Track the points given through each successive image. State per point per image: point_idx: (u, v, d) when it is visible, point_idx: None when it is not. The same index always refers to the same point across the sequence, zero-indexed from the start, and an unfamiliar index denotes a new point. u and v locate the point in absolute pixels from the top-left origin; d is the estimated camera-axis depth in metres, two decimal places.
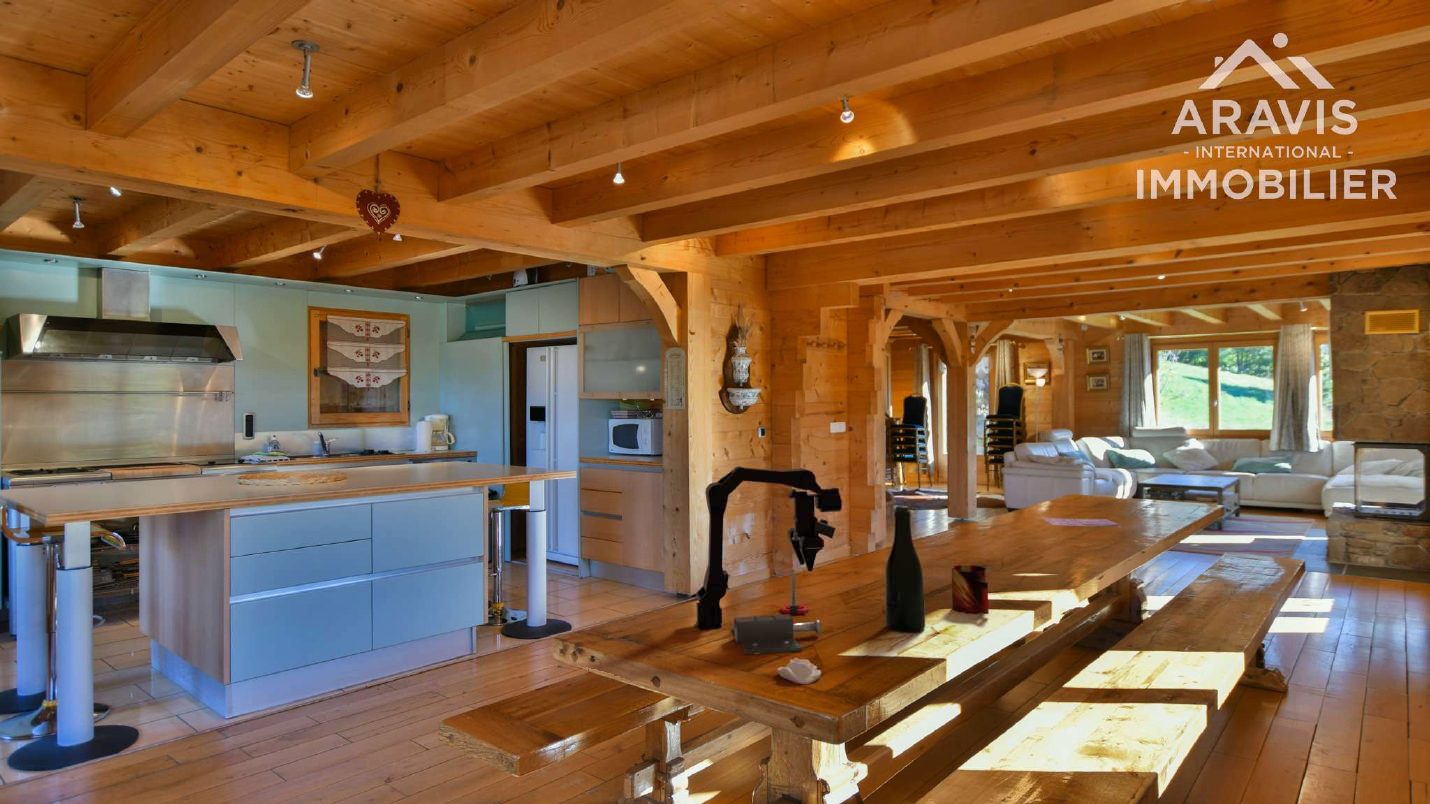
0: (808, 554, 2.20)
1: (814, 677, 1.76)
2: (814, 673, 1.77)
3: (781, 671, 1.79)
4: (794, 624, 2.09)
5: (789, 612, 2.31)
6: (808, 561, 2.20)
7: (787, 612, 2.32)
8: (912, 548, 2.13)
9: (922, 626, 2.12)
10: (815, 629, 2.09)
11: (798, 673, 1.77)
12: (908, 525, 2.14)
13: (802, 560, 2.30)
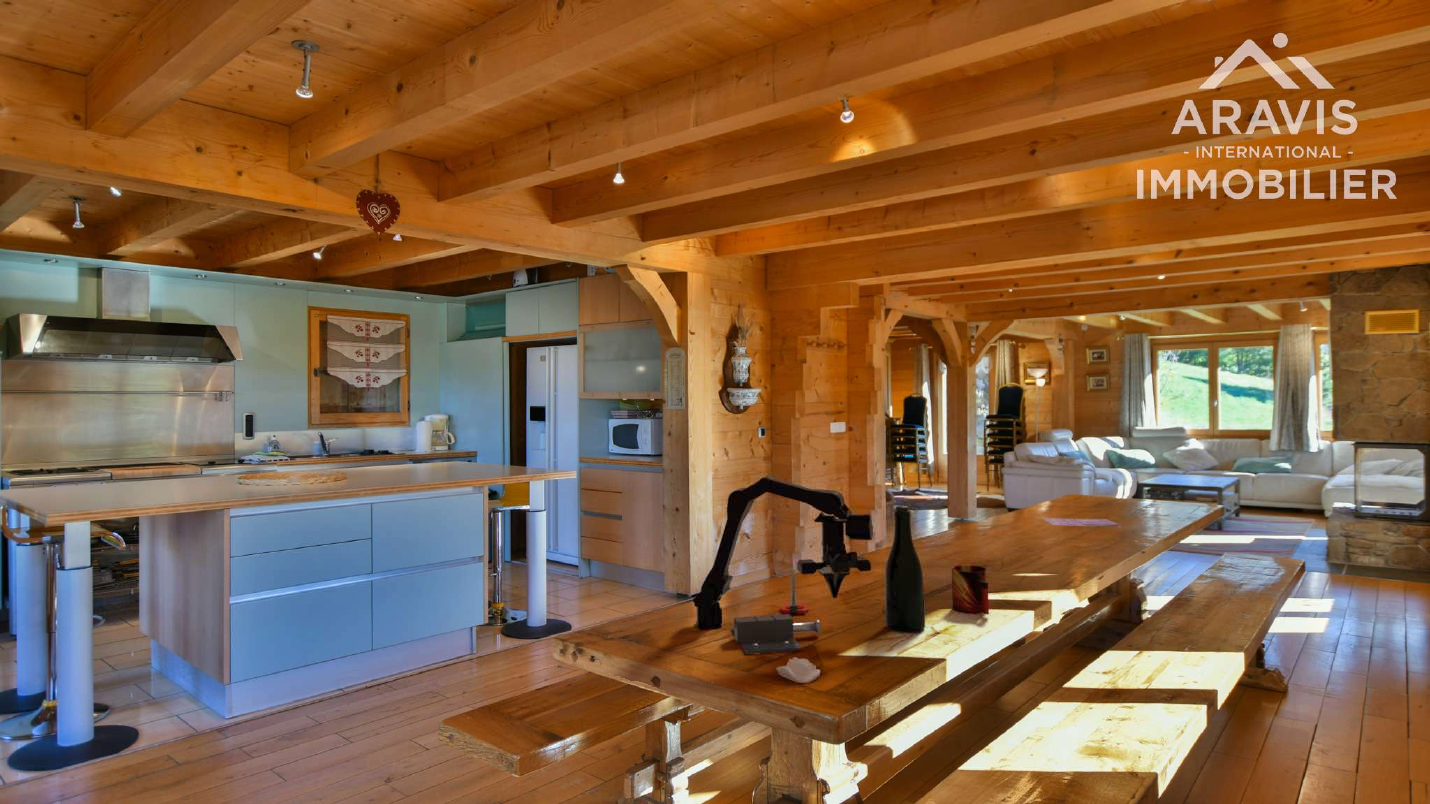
0: (828, 578, 2.11)
1: (813, 676, 1.77)
2: (813, 672, 1.78)
3: (780, 670, 1.79)
4: (794, 624, 2.09)
5: (789, 612, 2.31)
6: (828, 586, 2.11)
7: (787, 612, 2.32)
8: (912, 548, 2.13)
9: (922, 626, 2.12)
10: (815, 629, 2.09)
11: (798, 672, 1.77)
12: (908, 525, 2.13)
13: None
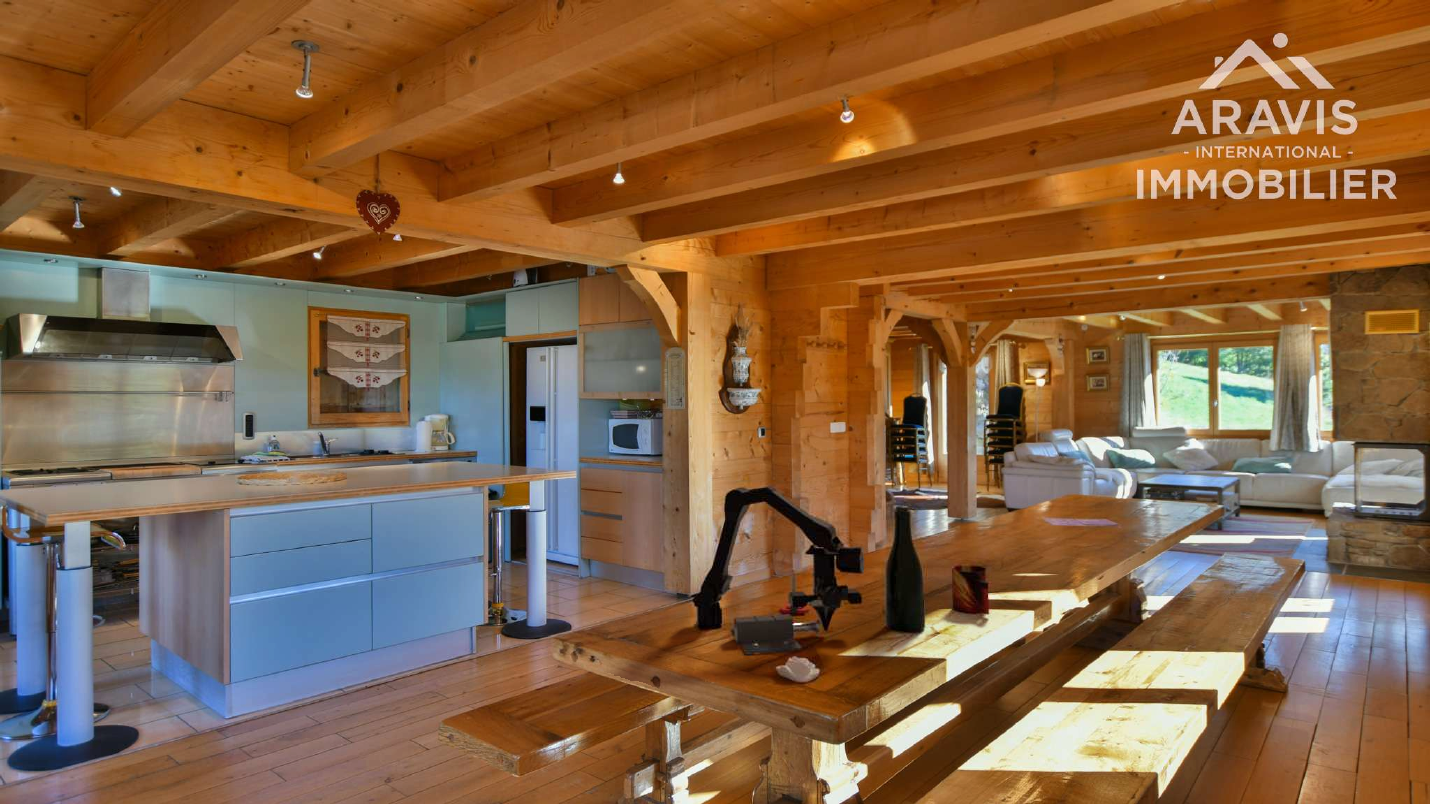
0: None
1: (812, 675, 1.77)
2: (812, 672, 1.78)
3: (780, 669, 1.80)
4: (794, 624, 2.09)
5: (789, 612, 2.31)
6: (819, 618, 2.11)
7: (787, 612, 2.32)
8: (912, 548, 2.13)
9: (922, 626, 2.12)
10: (815, 629, 2.09)
11: (797, 671, 1.78)
12: (908, 525, 2.13)
13: None
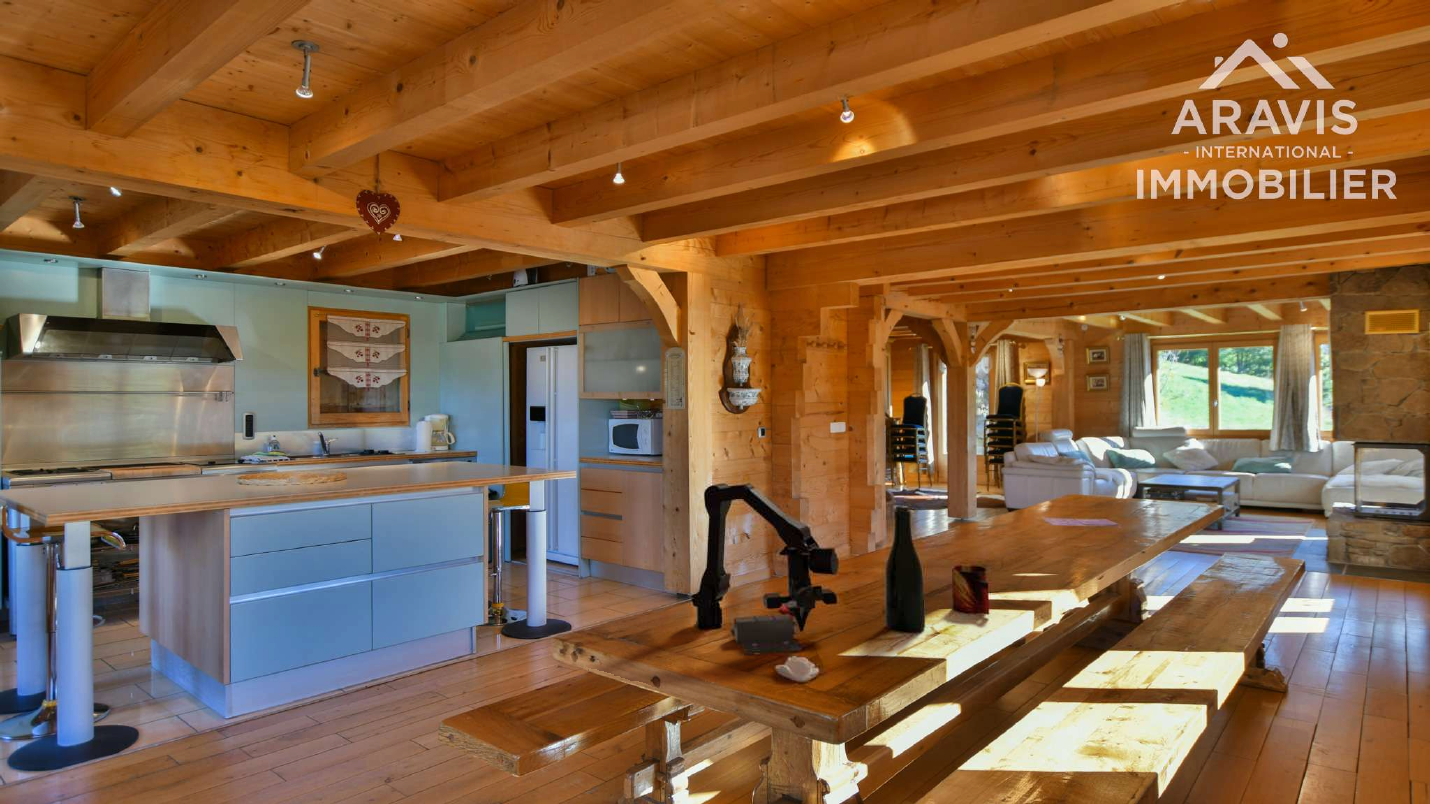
0: None
1: (812, 675, 1.78)
2: (812, 671, 1.79)
3: (779, 669, 1.80)
4: None
5: (789, 612, 2.31)
6: (795, 619, 2.10)
7: (787, 612, 2.32)
8: (912, 548, 2.13)
9: (922, 626, 2.12)
10: None
11: (796, 671, 1.78)
12: (908, 525, 2.13)
13: None
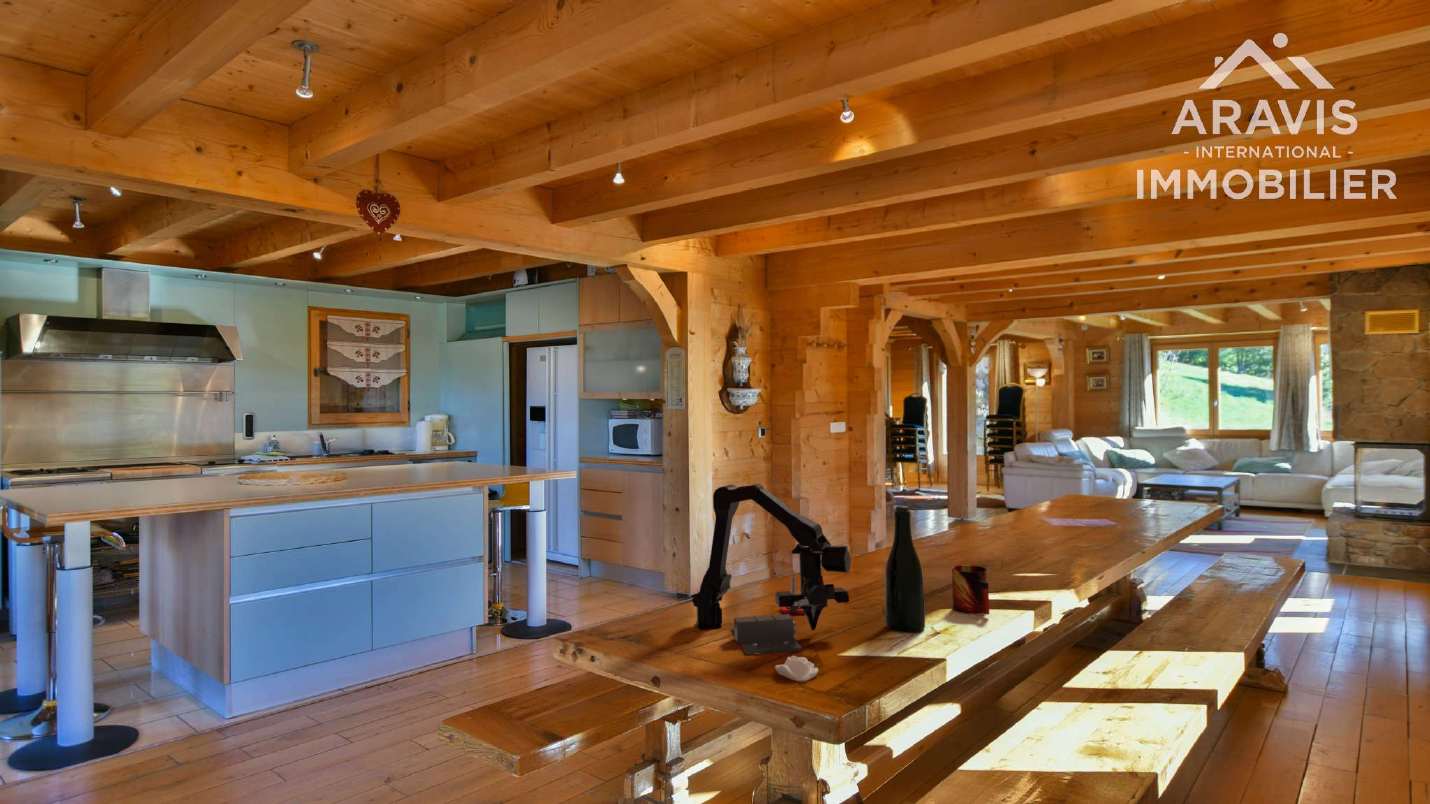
0: (806, 610, 2.10)
1: (811, 675, 1.78)
2: (811, 671, 1.79)
3: (779, 668, 1.80)
4: None
5: (789, 612, 2.31)
6: (807, 618, 2.10)
7: (787, 612, 2.32)
8: (912, 548, 2.13)
9: (922, 626, 2.12)
10: None
11: (796, 670, 1.79)
12: (908, 525, 2.14)
13: None
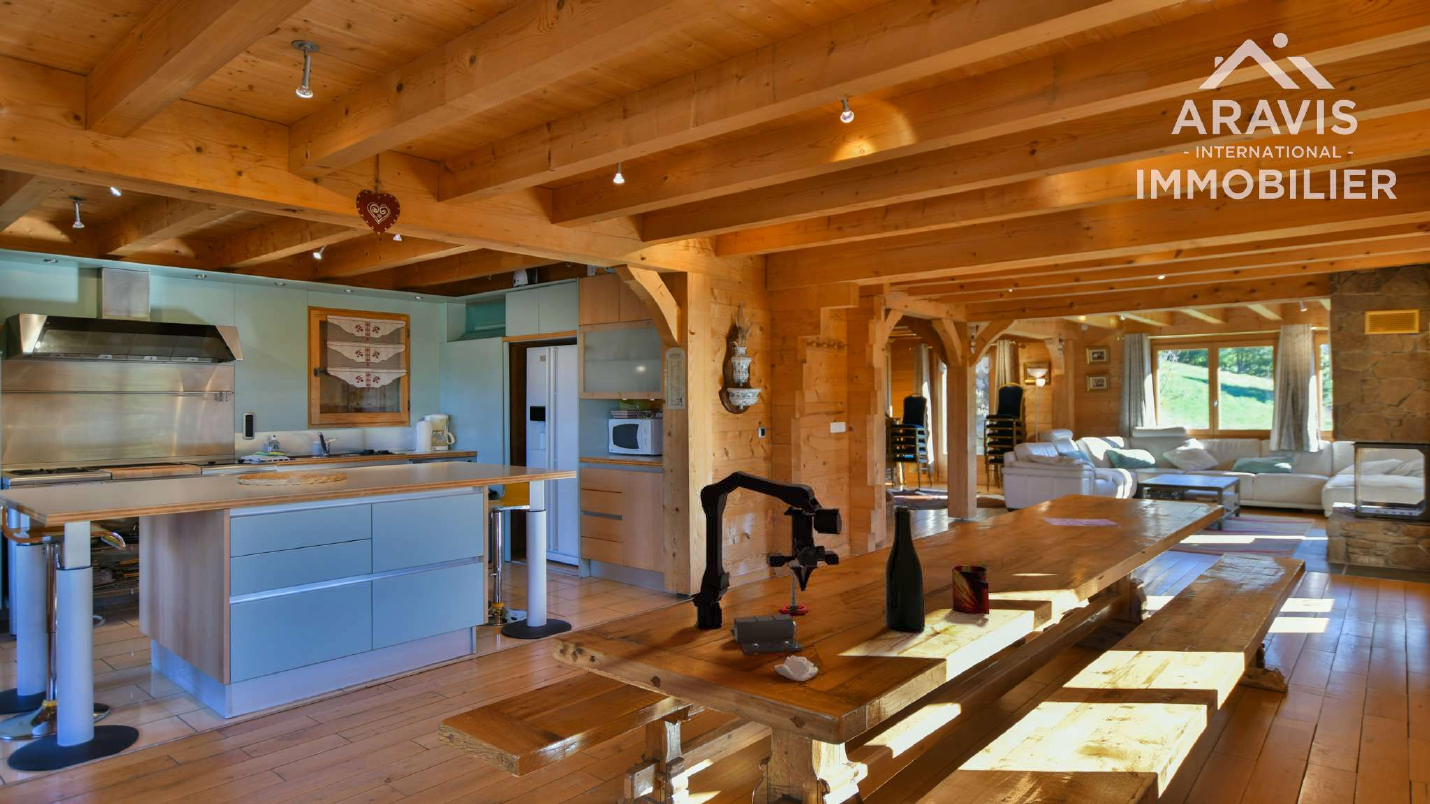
0: None
1: (811, 674, 1.78)
2: (811, 670, 1.79)
3: (778, 668, 1.81)
4: None
5: (789, 612, 2.31)
6: (797, 579, 2.12)
7: (787, 612, 2.32)
8: (912, 548, 2.13)
9: (922, 626, 2.12)
10: None
11: (795, 670, 1.79)
12: (908, 525, 2.14)
13: None
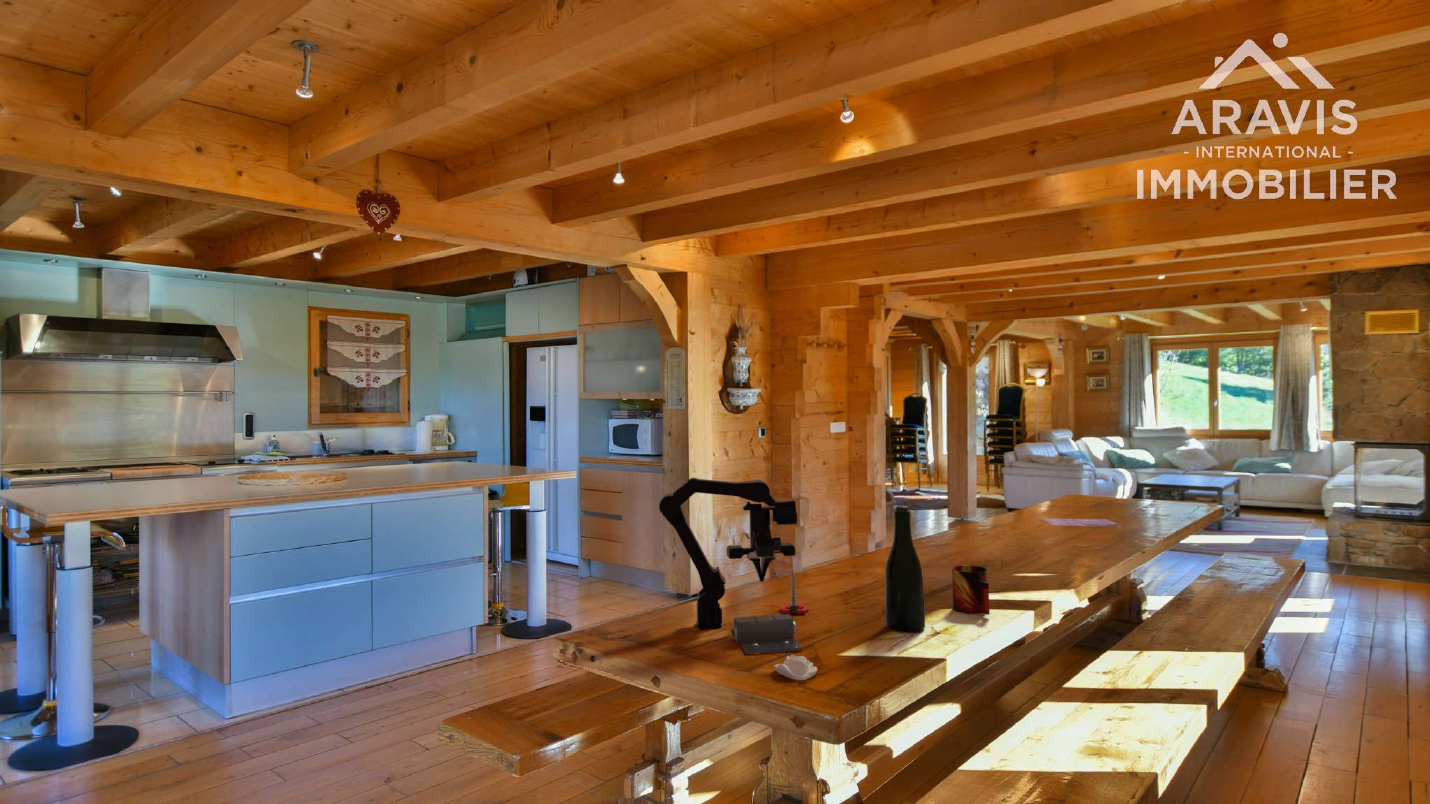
0: None
1: (810, 674, 1.78)
2: (810, 670, 1.80)
3: (778, 668, 1.81)
4: None
5: (789, 612, 2.31)
6: (756, 570, 2.23)
7: (787, 612, 2.32)
8: (912, 548, 2.13)
9: (922, 626, 2.12)
10: None
11: (795, 670, 1.79)
12: (908, 525, 2.14)
13: None
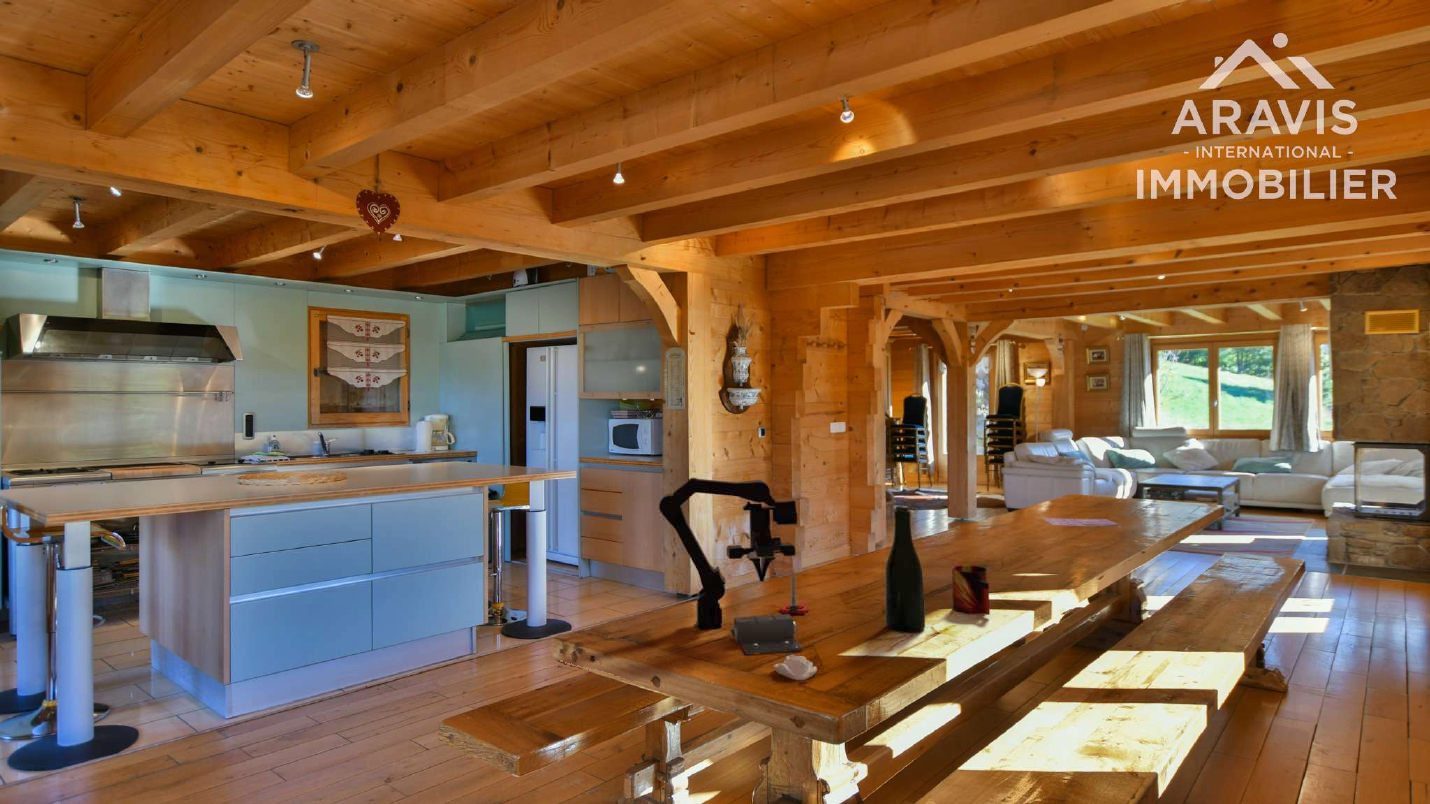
0: None
1: (810, 673, 1.79)
2: (810, 669, 1.80)
3: (777, 667, 1.81)
4: None
5: (789, 612, 2.31)
6: (756, 570, 2.23)
7: (787, 612, 2.32)
8: (912, 548, 2.13)
9: (922, 626, 2.12)
10: None
11: (795, 669, 1.79)
12: (908, 525, 2.13)
13: None
